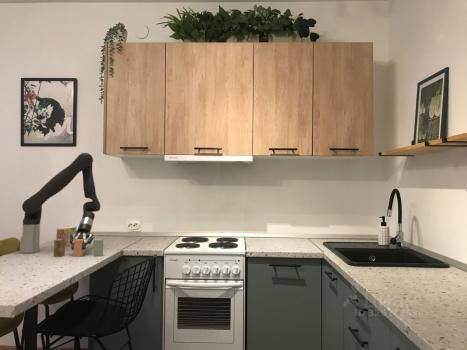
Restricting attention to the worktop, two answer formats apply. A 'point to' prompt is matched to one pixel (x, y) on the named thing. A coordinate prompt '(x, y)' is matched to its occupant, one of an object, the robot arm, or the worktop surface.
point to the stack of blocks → (66, 234)
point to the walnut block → (59, 247)
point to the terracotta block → (78, 247)
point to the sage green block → (98, 247)
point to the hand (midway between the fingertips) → (77, 249)
